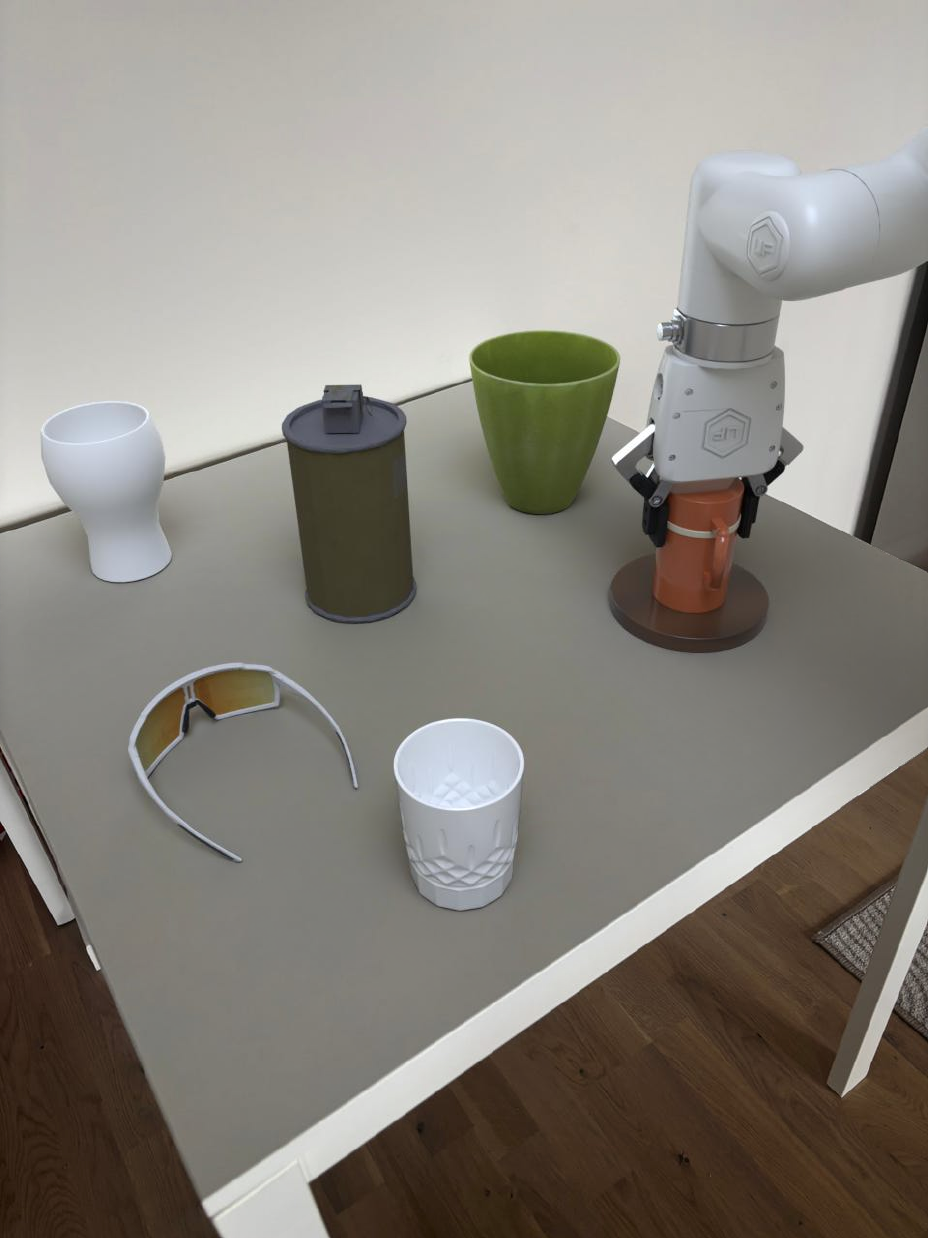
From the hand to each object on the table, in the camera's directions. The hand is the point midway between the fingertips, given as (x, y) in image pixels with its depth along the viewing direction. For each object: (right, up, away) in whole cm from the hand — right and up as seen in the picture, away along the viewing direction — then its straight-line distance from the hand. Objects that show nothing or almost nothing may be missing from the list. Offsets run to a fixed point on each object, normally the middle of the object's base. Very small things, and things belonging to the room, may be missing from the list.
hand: (697, 533), depth 84 cm
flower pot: (-12, +6, +22) cm, 25 cm away
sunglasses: (-37, -19, -11) cm, 43 cm away
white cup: (-20, -24, -19) cm, 37 cm away
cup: (-53, -2, +13) cm, 55 cm away
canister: (-30, -5, +8) cm, 31 cm away
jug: (0, -5, +3) cm, 6 cm away
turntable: (0, -6, +4) cm, 8 cm away
